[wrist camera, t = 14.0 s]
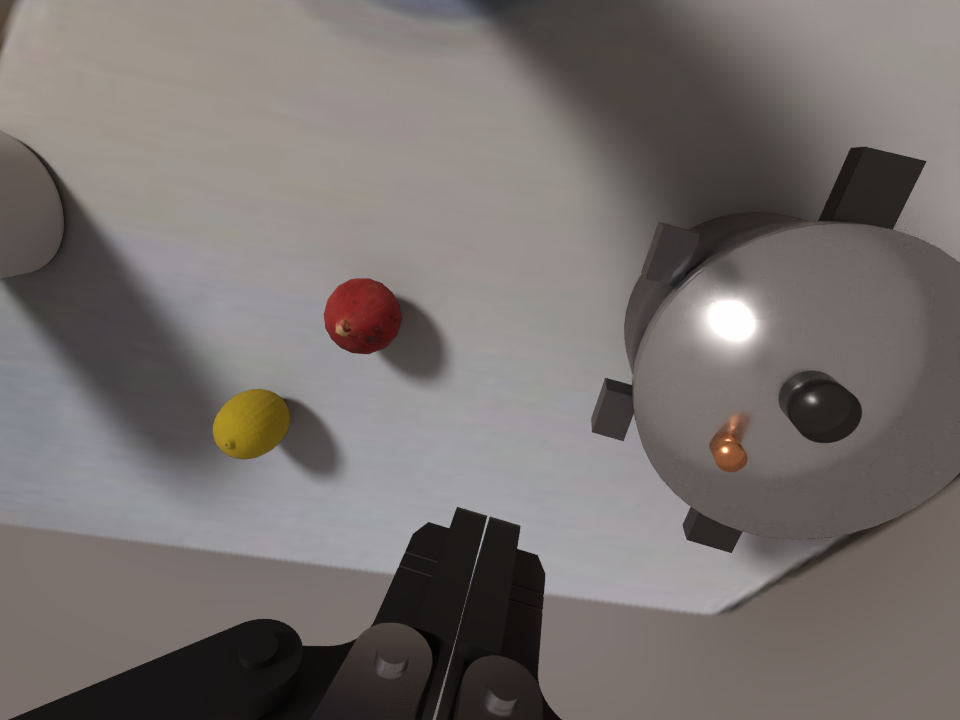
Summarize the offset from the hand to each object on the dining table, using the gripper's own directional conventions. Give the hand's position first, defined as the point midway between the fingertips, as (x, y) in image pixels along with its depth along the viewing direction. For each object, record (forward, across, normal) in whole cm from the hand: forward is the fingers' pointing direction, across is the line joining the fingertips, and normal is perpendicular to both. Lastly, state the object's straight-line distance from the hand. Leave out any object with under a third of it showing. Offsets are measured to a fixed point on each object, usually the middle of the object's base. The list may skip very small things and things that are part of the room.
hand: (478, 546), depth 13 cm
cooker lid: (+21, -15, 0) cm, 26 cm away
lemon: (+33, +21, +18) cm, 43 cm away
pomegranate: (+33, +13, +6) cm, 36 cm away
